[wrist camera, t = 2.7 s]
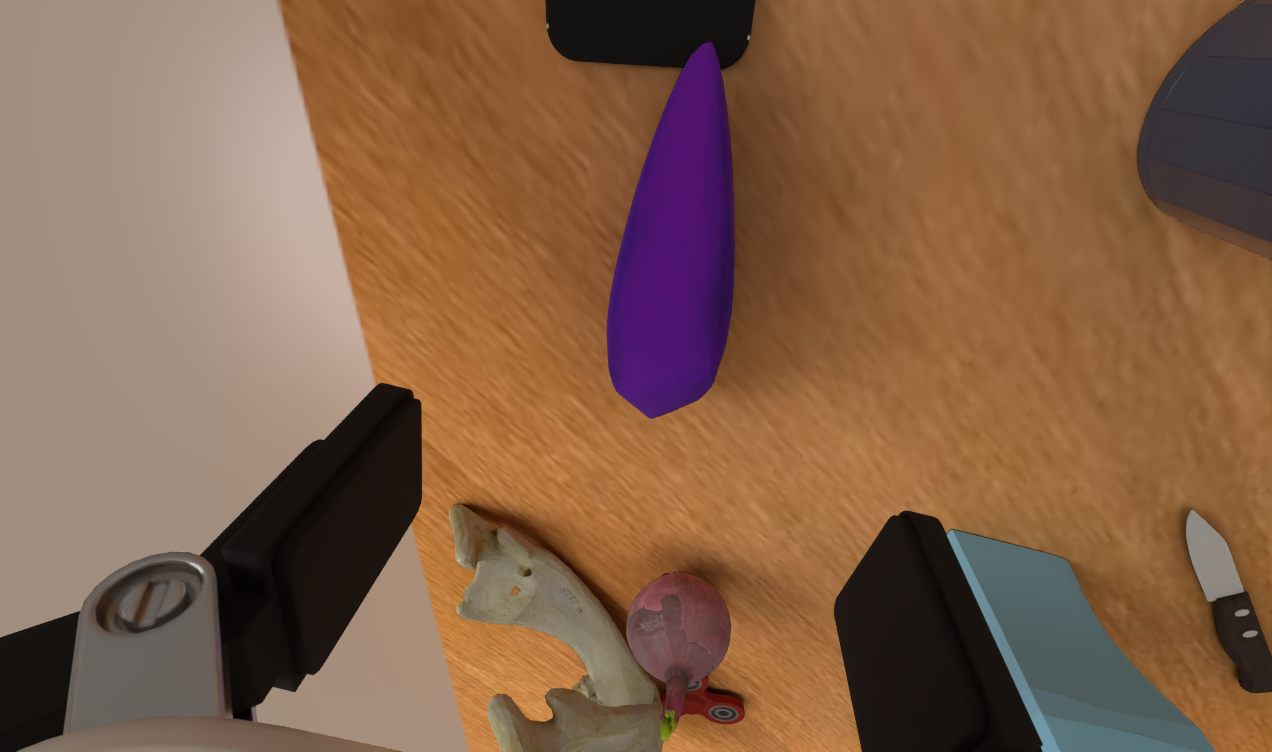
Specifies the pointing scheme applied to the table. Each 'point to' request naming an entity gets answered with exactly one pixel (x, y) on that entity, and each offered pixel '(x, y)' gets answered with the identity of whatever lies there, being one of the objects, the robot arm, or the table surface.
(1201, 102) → the mug
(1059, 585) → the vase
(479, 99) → the table surface
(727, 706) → the fidget spinner
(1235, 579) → the kitchen knife
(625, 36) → the smartphone
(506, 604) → the jawbone
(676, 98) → the purple eggplant
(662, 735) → the vegetable
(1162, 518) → the table surface
